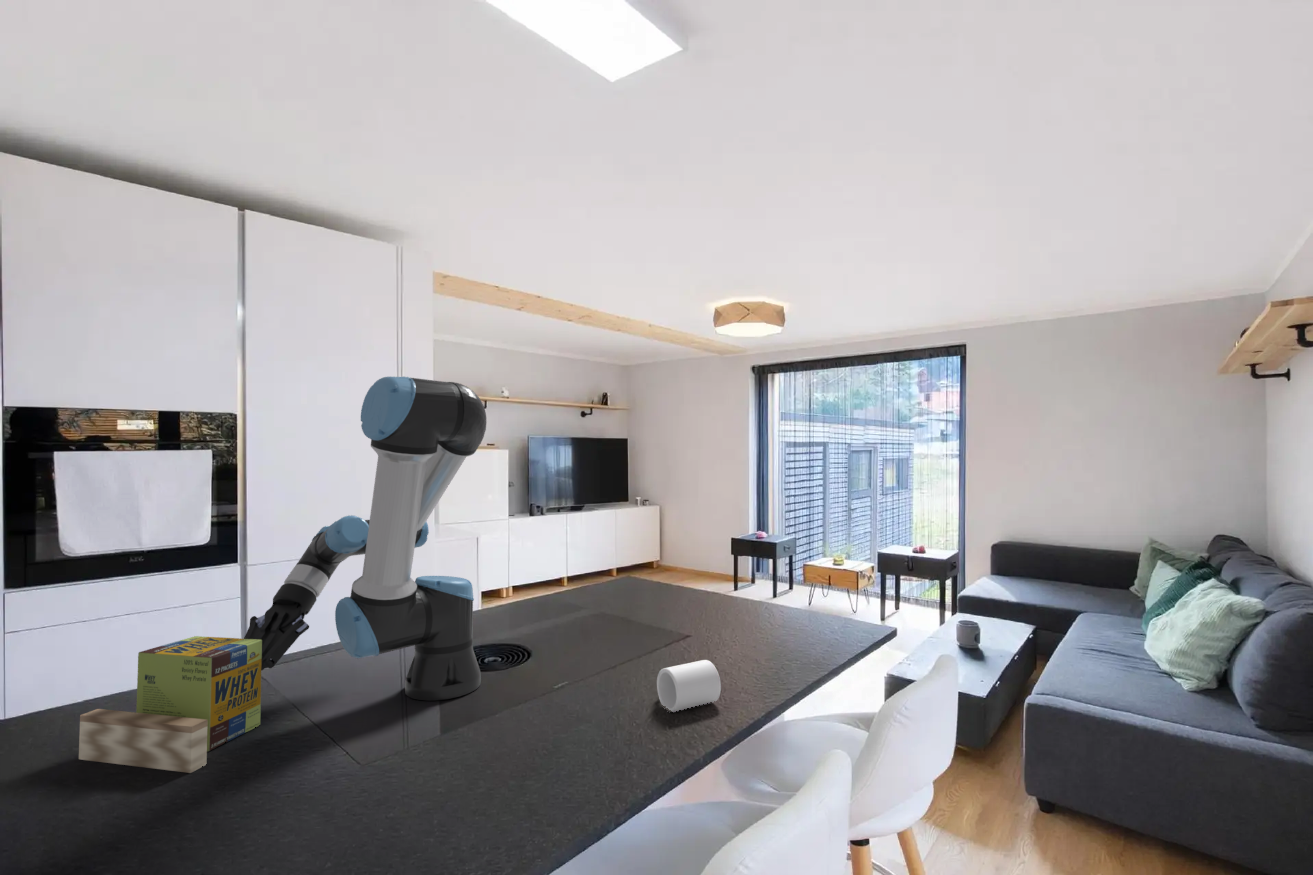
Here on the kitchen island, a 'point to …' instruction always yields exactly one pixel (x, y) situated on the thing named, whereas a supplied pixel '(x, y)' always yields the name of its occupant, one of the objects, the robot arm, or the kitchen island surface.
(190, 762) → the rail
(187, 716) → the protein box
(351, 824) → the kitchen island surface
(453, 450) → the robot arm
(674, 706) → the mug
